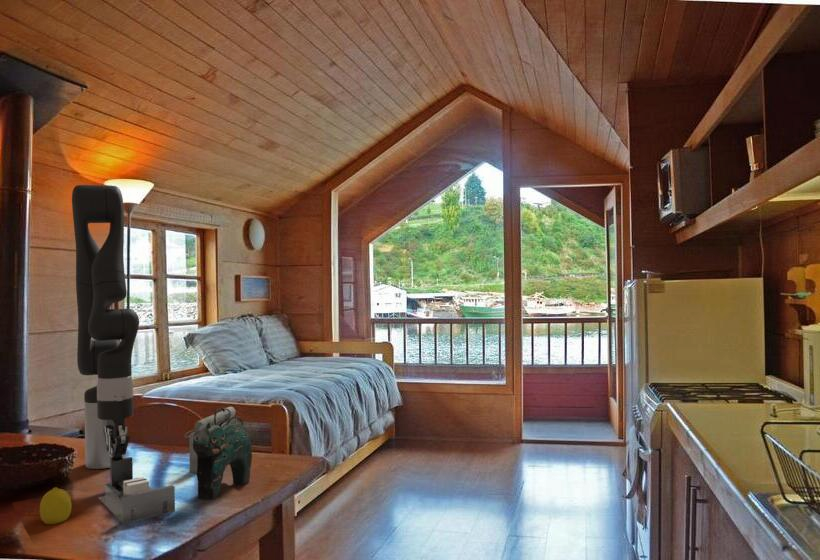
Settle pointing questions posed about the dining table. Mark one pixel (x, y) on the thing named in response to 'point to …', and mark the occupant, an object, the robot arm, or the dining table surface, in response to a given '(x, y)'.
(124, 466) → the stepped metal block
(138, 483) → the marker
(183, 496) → the dining table surface
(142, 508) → the grey open box
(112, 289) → the robot arm
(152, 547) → the dining table surface
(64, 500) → the lemon
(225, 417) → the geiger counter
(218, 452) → the green animal figurine
